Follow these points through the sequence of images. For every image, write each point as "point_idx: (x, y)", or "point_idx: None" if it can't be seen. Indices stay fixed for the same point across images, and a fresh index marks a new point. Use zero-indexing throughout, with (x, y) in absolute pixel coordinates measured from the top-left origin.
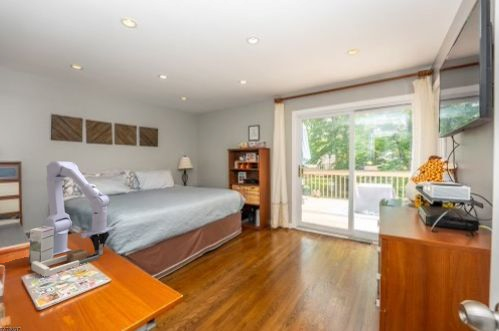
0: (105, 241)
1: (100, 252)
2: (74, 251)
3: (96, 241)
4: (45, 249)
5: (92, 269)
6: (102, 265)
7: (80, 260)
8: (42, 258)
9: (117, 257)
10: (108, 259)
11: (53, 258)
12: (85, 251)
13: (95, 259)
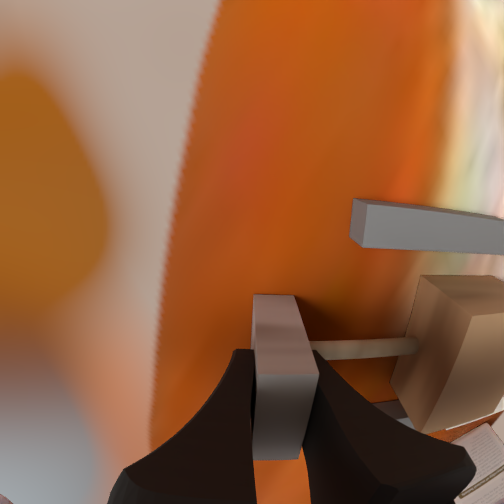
0: (205, 404)
1: (283, 311)
2: (477, 401)
3: (393, 425)
4: (499, 477)
5: (482, 56)
6: (416, 34)
7: (471, 282)
8: (491, 440)
9: (217, 62)
10: (308, 97)
11: (493, 413)
12: (471, 333)
13: (396, 204)
